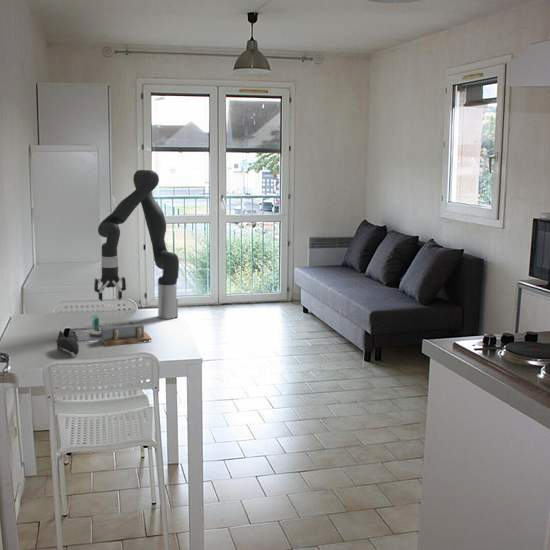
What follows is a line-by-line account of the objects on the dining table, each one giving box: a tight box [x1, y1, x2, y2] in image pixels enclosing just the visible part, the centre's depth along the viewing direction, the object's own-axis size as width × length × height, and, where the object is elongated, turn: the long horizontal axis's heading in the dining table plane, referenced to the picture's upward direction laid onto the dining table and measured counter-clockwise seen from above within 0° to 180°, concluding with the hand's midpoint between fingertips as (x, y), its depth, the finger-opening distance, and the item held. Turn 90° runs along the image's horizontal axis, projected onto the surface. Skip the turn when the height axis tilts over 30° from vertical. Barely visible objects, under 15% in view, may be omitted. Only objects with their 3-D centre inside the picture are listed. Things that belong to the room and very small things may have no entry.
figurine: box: [56, 330, 80, 358], centre depth 294 cm, size 8×10×15 cm
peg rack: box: [100, 329, 152, 347], centre depth 313 cm, size 20×11×6 cm, turn 113°
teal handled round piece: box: [89, 314, 101, 336], centre depth 324 cm, size 8×14×6 cm, turn 23°
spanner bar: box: [100, 323, 145, 342], centre depth 312 cm, size 18×6×5 cm, turn 113°
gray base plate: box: [77, 334, 101, 342], centre depth 322 cm, size 15×18×1 cm
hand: (110, 299), depth 329 cm, fingers open, 8 cm apart
